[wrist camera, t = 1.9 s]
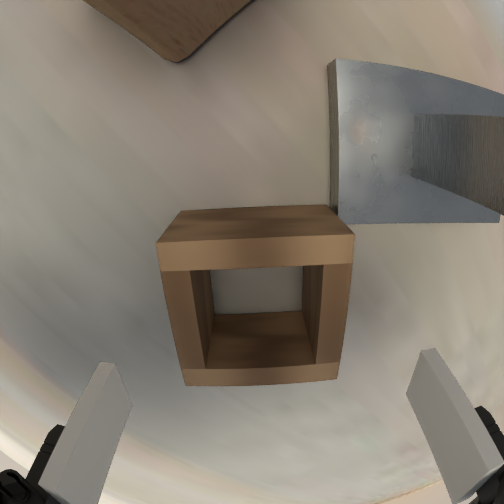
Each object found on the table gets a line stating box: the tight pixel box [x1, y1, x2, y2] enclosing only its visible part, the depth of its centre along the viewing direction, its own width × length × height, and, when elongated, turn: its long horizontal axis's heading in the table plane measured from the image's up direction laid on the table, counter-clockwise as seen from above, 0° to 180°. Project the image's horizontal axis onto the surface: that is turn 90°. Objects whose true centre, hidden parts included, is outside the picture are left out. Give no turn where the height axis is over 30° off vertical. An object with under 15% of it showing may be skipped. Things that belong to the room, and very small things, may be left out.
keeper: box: [327, 59, 504, 224], centre depth 12 cm, size 14×10×13 cm
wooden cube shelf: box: [156, 205, 355, 386], centre depth 19 cm, size 10×10×6 cm
